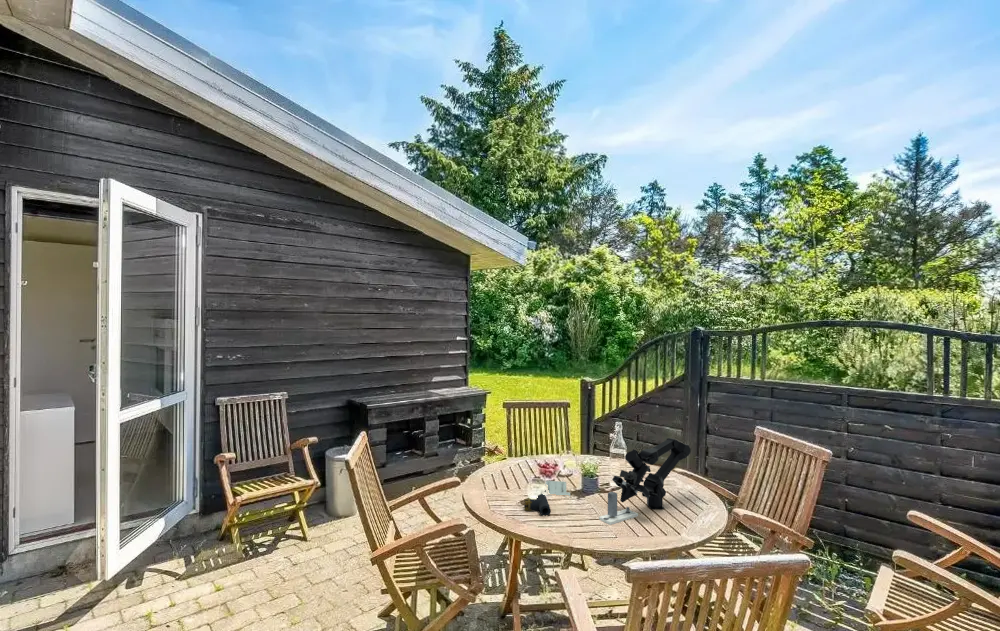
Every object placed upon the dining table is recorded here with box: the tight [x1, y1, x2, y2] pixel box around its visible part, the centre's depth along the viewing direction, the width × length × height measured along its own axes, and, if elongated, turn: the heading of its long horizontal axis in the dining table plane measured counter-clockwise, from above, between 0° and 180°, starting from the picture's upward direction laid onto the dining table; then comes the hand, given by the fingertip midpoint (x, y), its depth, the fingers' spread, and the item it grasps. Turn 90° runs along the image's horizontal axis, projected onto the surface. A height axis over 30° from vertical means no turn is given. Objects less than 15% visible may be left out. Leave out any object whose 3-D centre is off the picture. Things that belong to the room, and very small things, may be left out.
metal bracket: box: [545, 479, 571, 497], centre depth 257 cm, size 14×6×15 cm
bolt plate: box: [598, 506, 639, 526], centre depth 224 cm, size 18×7×4 cm, turn 122°
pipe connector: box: [523, 493, 552, 517], centre depth 233 cm, size 12×5×15 cm
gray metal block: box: [607, 491, 618, 517], centre depth 222 cm, size 3×3×11 cm
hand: (621, 501), depth 225 cm, fingers closed
